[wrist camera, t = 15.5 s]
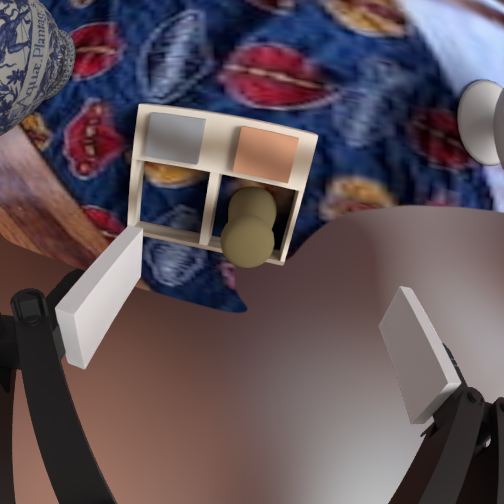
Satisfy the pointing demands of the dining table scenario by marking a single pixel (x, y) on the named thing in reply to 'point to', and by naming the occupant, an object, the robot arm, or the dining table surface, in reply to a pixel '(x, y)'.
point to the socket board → (218, 162)
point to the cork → (249, 227)
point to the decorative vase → (30, 59)
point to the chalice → (483, 122)
